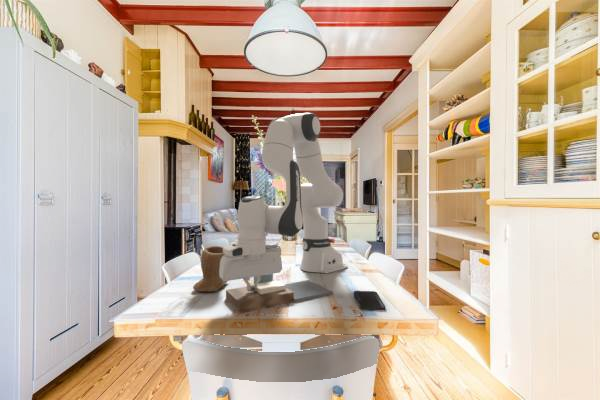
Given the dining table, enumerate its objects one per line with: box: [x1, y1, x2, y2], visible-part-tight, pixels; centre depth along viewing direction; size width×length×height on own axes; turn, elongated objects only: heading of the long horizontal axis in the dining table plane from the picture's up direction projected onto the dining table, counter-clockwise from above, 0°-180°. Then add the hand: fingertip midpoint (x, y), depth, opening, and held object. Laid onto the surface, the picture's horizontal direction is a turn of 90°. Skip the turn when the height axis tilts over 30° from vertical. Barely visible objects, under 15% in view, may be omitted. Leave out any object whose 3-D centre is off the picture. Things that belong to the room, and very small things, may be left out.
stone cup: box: [192, 245, 228, 293], centre depth 108 cm, size 15×12×15 cm
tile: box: [255, 280, 286, 294], centre depth 97 cm, size 9×6×2 cm, turn 121°
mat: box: [284, 279, 334, 303], centre depth 104 cm, size 15×15×1 cm
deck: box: [225, 285, 294, 314], centre depth 95 cm, size 18×13×3 cm
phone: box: [353, 290, 386, 311], centre depth 95 cm, size 8×1×15 cm
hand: (252, 290), depth 94 cm, fingers closed
